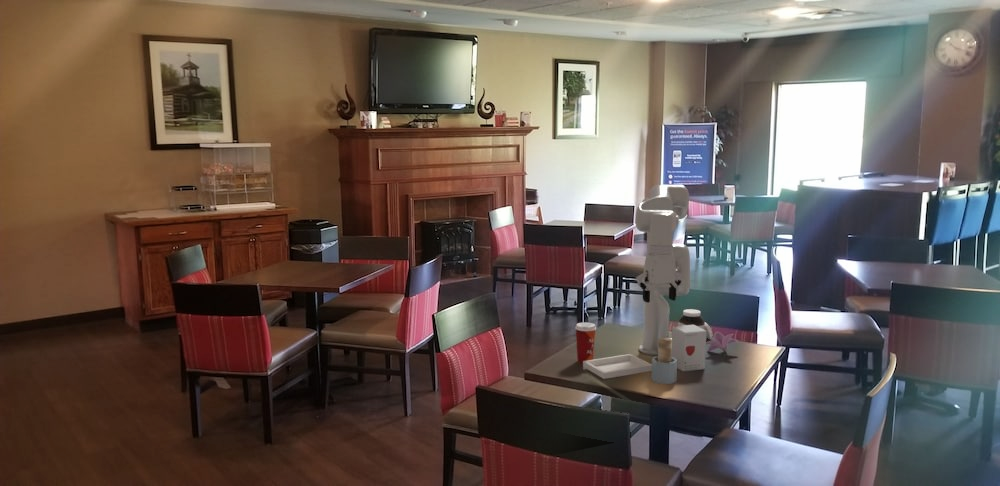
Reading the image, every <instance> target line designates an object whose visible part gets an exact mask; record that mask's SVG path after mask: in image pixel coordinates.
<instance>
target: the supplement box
mask: <svg viewBox="0 0 1000 486" xmlns="http://www.w3.org/2000/svg"><path fill="white" fill-rule="evenodd" d="M671 339H672V353H671V357H673V358H675V359H677V370H679V371H682V372H691V371H697V370H706V369H705V366H706V351H707V349H706V346H707V344H706V342H707V338H706V330H704V329H702V328H700V327H698V326H696V325H682V326H678V325H672V326H671Z"/></svg>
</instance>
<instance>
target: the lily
mask: <svg viewBox="0 0 1000 486" xmlns="http://www.w3.org/2000/svg"><path fill="white" fill-rule="evenodd" d="M734 334H735V333H729V334H727V335H724V334H723V333H722V332H720V331H715V332H714V333H713V340H709V341H706V345H709V347H708V349H707V352H708V351H709V352H711V351H714V350H716V349H720V350H721V351H723V355H724V358H725V357H726V358H727V356H726V353H725V352H724V351H726V352H727V350H728V345H732V344H735V343H738V342H739V340H738V339H736V338H733V336H734Z"/></svg>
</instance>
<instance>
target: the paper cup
mask: <svg viewBox="0 0 1000 486" xmlns="http://www.w3.org/2000/svg"><path fill="white" fill-rule="evenodd" d="M574 328H575V336H576V337H575V338H576V340H575V341H576V355H577V358H576V359H577V362H578V363H579V364H582V365H583V361H587V360H593V359H594V353H595V339H596V330H597V327H596V324H594V323H592V322H578V323H576V326H575V327H574Z"/></svg>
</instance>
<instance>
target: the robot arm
mask: <svg viewBox="0 0 1000 486" xmlns="http://www.w3.org/2000/svg"><path fill="white" fill-rule="evenodd" d="M689 204H690V193H689V189H688V188H687V187H686V186H685V185H684V184H657V185H654V186H652V187H651V188H650V190H649V192H648V197H646V198H644V199H643V200H642V201H641V203H639V204H638V206H637V207H636V210H635V218H634V219H635V222H634V223H635V228H636V229H637V231H639V232H643V233H646V255H645V260H644V267H643V273H641V274H639V275H637V276H636V277H635V280H636V282H637V284H638V286H639V287H640V289H641V290H642V301H643V332H642V333H643V334H642V335H643V336H642V344H640V345H639V347H638V351H639V352H641V353H643V354H646V355H649V356H658V339H659V338H670V335H669V333H670V305H669V303H668V301H667V300H666V299H665V297H664V296H668V299H669V300H671V301H673V302H674V301H676V298H677V296H679V297H680V296H687V295H688V294H689V293H690V290H691V289H690V288H691V257H690V254H691V253H690V249H689V247H688V246H687V245H686V244H684V243H675V242H674V232H675V231H676V229H677V228H678V227H679V221H680V220H683V219H685V218H686V216H687V215H688V210H689ZM670 339H672V337H671V338H670Z"/></svg>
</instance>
